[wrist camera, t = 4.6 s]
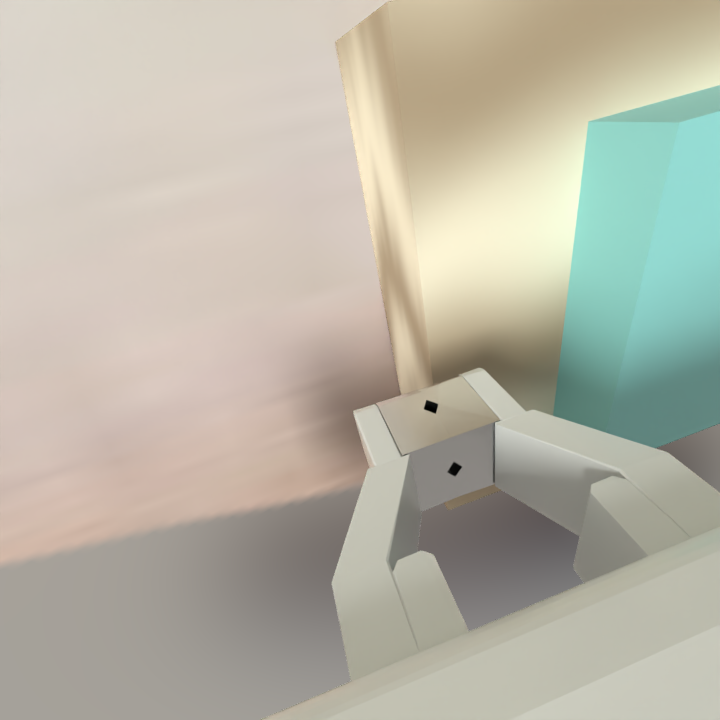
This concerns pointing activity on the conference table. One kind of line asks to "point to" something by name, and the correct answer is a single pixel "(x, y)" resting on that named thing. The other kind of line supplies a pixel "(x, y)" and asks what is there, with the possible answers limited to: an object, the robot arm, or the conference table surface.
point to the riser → (497, 164)
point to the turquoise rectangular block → (646, 275)
